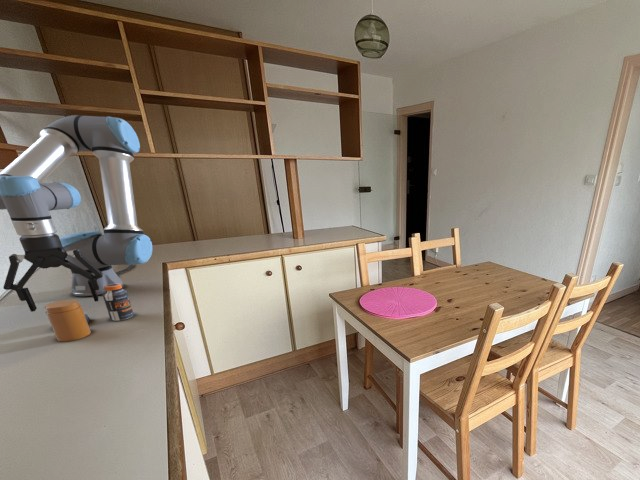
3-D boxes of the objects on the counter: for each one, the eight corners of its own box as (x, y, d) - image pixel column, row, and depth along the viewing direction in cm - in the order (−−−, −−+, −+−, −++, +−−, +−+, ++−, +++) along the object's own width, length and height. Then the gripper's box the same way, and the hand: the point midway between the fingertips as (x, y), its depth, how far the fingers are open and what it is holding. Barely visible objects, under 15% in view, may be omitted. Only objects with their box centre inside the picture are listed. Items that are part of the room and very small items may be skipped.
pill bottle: (120, 322, 99) (109, 288, 95) (105, 320, 100) (94, 286, 96) (138, 314, 105) (129, 282, 101) (124, 312, 106) (114, 281, 102)
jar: (62, 333, 92) (49, 301, 88) (94, 328, 95) (83, 297, 91) (52, 343, 86) (38, 310, 82) (86, 338, 89) (74, 305, 86)
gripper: (-39, 242, 77) (0, 319, 85) (97, 233, 92) (119, 299, 100) (-28, 237, 83) (8, 310, 90) (99, 229, 97) (120, 293, 105)
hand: (66, 304), depth 95 cm, fingers open, 13 cm apart
